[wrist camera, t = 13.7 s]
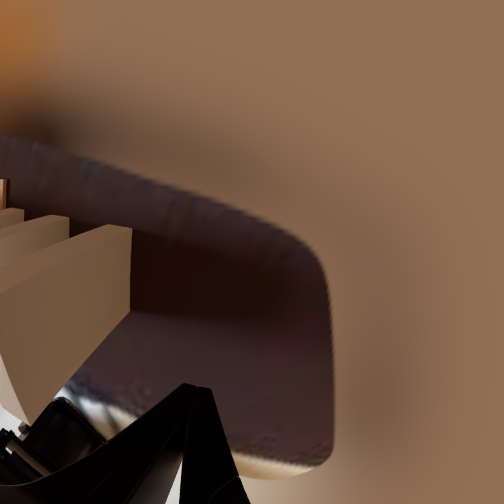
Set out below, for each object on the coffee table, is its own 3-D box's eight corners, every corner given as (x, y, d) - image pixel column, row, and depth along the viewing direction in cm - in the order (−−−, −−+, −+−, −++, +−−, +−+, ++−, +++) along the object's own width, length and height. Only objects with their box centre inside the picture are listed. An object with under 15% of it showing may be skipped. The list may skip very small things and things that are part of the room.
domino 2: (69, 217, 14) (-69, 266, 5) (71, 294, 16) (-35, 377, 6) (51, 214, 14) (-80, 257, 5) (54, 288, 16) (-51, 362, 6)
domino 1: (132, 228, 14) (-14, 301, 5) (129, 311, 16) (30, 426, 6) (107, 224, 14) (-39, 286, 5) (107, 305, 16) (2, 407, 6)
